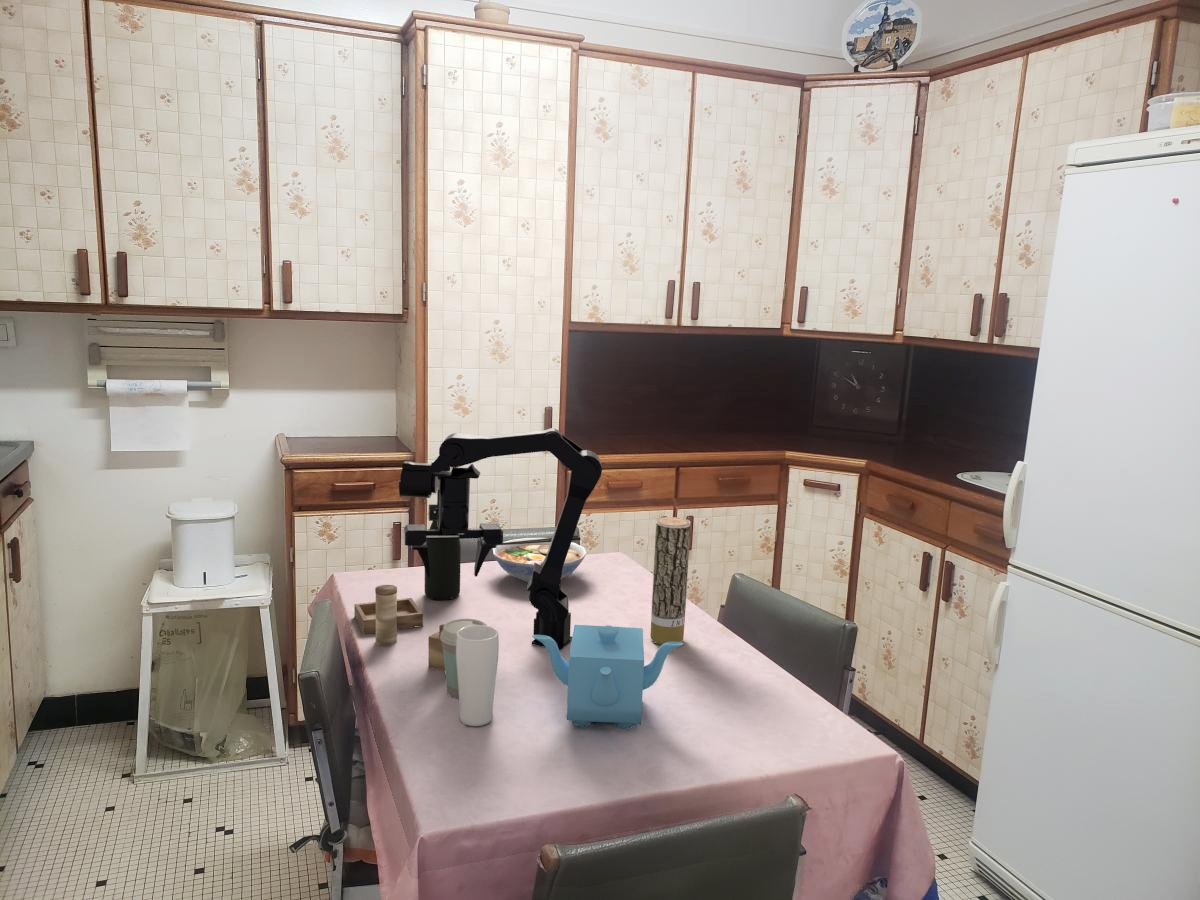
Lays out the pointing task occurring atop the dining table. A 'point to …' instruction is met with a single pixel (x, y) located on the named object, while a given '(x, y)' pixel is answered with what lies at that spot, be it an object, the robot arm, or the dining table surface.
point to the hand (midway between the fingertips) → (452, 576)
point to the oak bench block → (436, 651)
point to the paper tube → (670, 579)
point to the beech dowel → (386, 615)
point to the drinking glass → (476, 672)
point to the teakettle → (606, 673)
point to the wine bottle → (443, 564)
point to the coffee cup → (453, 651)
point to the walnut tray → (406, 615)
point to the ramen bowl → (534, 556)
